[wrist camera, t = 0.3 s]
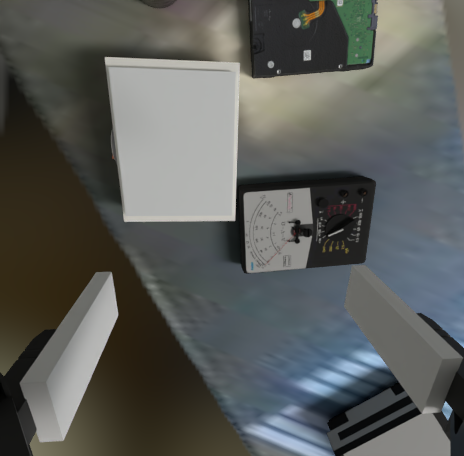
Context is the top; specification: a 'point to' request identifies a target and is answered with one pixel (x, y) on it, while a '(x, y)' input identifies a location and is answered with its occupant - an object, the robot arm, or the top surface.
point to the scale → (175, 137)
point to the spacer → (158, 3)
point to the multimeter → (304, 223)
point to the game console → (389, 428)
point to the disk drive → (311, 36)
